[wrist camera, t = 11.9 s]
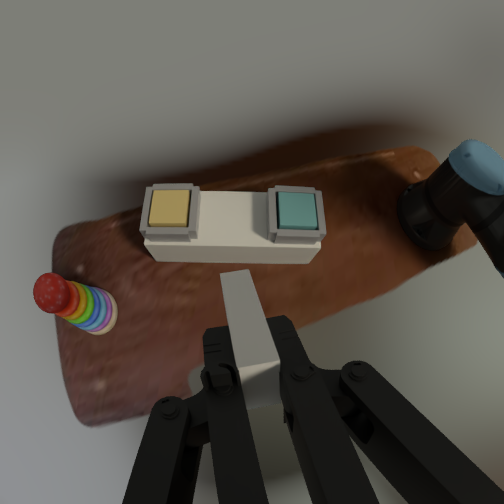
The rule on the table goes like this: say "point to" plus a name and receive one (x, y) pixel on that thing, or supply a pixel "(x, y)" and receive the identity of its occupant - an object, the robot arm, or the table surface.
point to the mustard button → (170, 208)
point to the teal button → (296, 211)
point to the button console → (232, 228)
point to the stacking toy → (76, 303)
